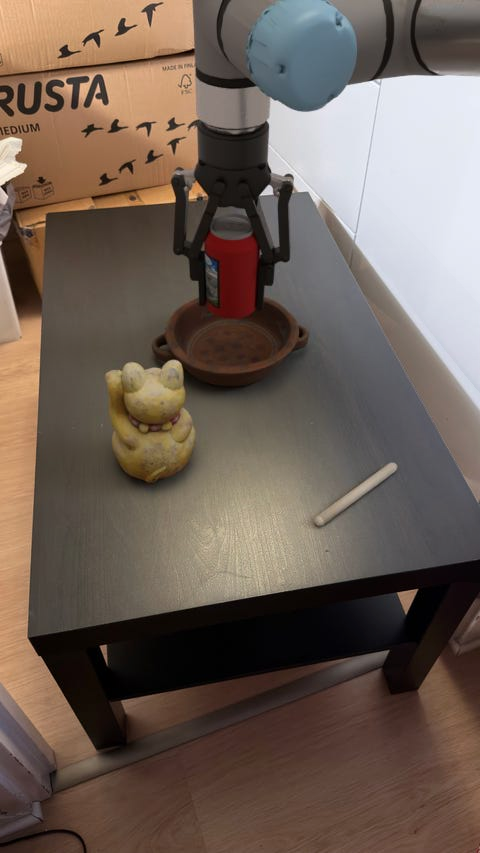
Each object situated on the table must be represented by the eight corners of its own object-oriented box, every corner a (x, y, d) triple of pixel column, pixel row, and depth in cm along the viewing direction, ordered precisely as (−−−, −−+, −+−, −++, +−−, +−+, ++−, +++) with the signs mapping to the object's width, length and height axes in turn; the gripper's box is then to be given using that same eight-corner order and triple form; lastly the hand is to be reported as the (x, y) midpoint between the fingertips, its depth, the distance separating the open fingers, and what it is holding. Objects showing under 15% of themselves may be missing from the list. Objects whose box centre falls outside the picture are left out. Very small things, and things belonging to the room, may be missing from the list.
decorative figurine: (191, 433, 78) (185, 341, 67) (203, 484, 73) (199, 394, 62) (114, 445, 77) (95, 352, 66) (120, 498, 71) (100, 408, 60)
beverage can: (210, 290, 84) (208, 207, 76) (260, 294, 84) (264, 212, 75) (202, 321, 80) (198, 237, 71) (254, 326, 79) (257, 242, 71)
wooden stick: (398, 471, 75) (400, 464, 74) (319, 530, 69) (320, 524, 68) (390, 465, 75) (392, 458, 74) (311, 522, 70) (312, 516, 69)
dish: (322, 390, 84) (327, 362, 80) (158, 408, 81) (155, 380, 77) (293, 310, 95) (296, 283, 92) (149, 324, 92) (145, 296, 89)
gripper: (329, 110, 66) (308, 290, 83) (146, 100, 67) (162, 279, 84) (328, 140, 61) (306, 325, 78) (131, 129, 62) (151, 314, 79)
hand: (231, 301), depth 81 cm, fingers closed on beverage can, 7 cm apart
